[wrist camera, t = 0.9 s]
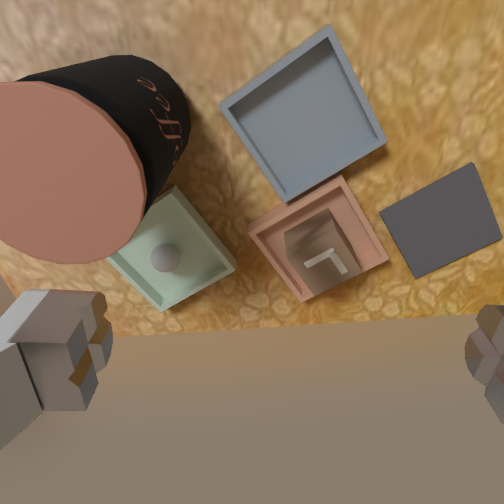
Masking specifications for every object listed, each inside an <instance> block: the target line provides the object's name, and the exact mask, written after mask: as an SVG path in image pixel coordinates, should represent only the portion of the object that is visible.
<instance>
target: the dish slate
mask: <svg viewBox="0 0 504 504" xmlns="http://www.w3.org/2000/svg"><path fill="white" fill-rule="evenodd" d="M218 107H219V108H220V110H221V111H222V113H223V114H224V116H225V117H226V119H227V120H228V122H229V123H230V125H231V126H232V127H233V129H234V130H235V132H236V133H237V135H238V136H239V138H240V139H241V141H242V142H243V144H244V145H245V147H246V148H247V150H248V151H249V153H250V154H251V155H252V157H253V158H254V160H255V161H256V163H257V164H258V166H259V167H260V169H261V170H262V172H263V173H264V175H265V176H266V178H267V179H268V180H269V182H270V183H271V185H272V186H273V188H274V189H275V191H276V192H277V194H278V195H279V197H280V198H281V200H282V201H283V203H286V202H287V201H289V200H291V199H293V198H294V197H296V196H298V195H299V194H301V193H303V192H304V191H306V190H308V189H309V188H311V187H313V186H314V185H316V184H318V183H319V182H321V181H323V180H325V179H326V178H328V177H330V176H331V175H333V174H335V173H336V172H338V171H340V170H341V169H343V168H345V167H346V166H348V165H350V164H351V163H353V162H355V161H357V160H358V159H360V158H362V157H363V156H365V155H367V154H368V153H370V152H372V151H373V150H375V149H377V148H378V147H380V146H382V145H383V144H385V143H387V142H388V141H387V139H386V137H385V135H384V133H383V130H382V128H381V126H380V124H379V122H378V120H377V118H376V116H375V114H374V112H373V110H372V108H371V106H370V104H369V102H368V100H367V98H366V96H365V94H364V91H363V89H362V87H361V85H360V83H359V81H358V79H357V77H356V75H355V73H354V71H353V69H352V67H351V65H350V63H349V61H348V59H347V57H346V54H345V52H344V50H343V48H342V46H341V44H340V42H339V40H338V38H337V36H336V34H335V32H334V30H333V28H332V26H331V24H326V25H325V26H324V27H322V28H321V29H320V30H318V31H317V32H315V33H314V34H313V35H311V36H310V37H309V38H307V39H306V40H304V41H303V42H302V43H300V44H299V45H298V46H296V47H295V48H293V49H292V50H291V51H289V52H288V53H287V54H285V55H284V56H283V57H281V58H280V59H278V60H277V61H276V62H274V63H273V64H272V65H270V66H269V67H267V68H266V69H265V70H263V71H262V72H261V73H259V74H258V75H257V76H255V77H254V78H252V79H251V80H250V81H248V82H247V83H246V84H244V85H243V86H241V87H240V88H239V89H237V90H236V91H235V92H233V93H232V94H231V95H229V96H228V97H226V98H225V99H224V100H222V101H221V102H220V104H219V106H218Z"/></svg>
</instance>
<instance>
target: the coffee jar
mask: <svg viewBox="0 0 504 504" xmlns="http://www.w3.org/2000/svg"><path fill="white" fill-rule="evenodd" d="M190 129H191V124H190V114H189V107H188V105H187V103H186V100H185V98H184V95H183V93H182V90H181V89H180V88H179V86H178V85H177V84H176V83H175V81H174V80H173V79H172V78H171V76H170V75H169V74H168V73H167V72H165V71H164V70H163V69H161V68H160V67H158V66H157V65H156V64H154V63H153V62H151V61H149V60H146V59H142V58H139V57H136V56H133V55H113V56H108V57H104V58H100V59H96V60H91V61H87V62H83V63H79V64H75V65H70V66H66V67H62V68H58V69H54V70H49V71H45V72H41V73H37V74H33V75H28V76H26V77H24V78H21V79H19V80H17V81H14V82H1V83H0V239H1V240H2V241H3V242H4V243H6V244H7V245H9V246H11V247H13V248H15V249H17V250H19V251H21V252H23V253H25V254H27V255H29V256H31V257H34V258H38V259H42V260H46V261H50V262H54V263H58V264H87V263H90V262H93V261H97V260H100V259H103V258H107V257H110V256H111V255H112V254H114V253H115V252H117V251H118V250H119V249H121V248H122V247H123V246H125V245H126V244H127V243H129V241H130V240H131V238H132V236H133V235H134V233H135V231H136V230H137V228H138V227H139V225H140V223H141V221H142V220H143V218H144V216H145V215H146V213H147V212H148V210H149V208H150V207H151V205H152V203H153V202H154V200H155V198H156V197H157V195H158V193H159V191H160V190H161V188H162V186H163V185H164V183H165V181H166V180H167V178H168V176H169V174H170V173H171V171H172V169H173V168H174V166H175V164H176V162H177V161H178V159H179V157H180V156H181V154H182V152H183V151H184V149H185V147H186V145H187V143H188V138H189V133H190Z"/></svg>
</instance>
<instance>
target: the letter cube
mask: <svg viewBox="0 0 504 504" xmlns="http://www.w3.org/2000/svg"><path fill="white" fill-rule="evenodd" d="M284 238H285V247H286V255H287V260H288V261H289V262H290V264H291V265H292V267H293V268H294V269H295V271H296V272H297V273H298V275H299V276H300V277H301V279H302V280H303V282H304V283H305V284H306V286H307V287H308V288H309V290H310V291H311V292H312V294H313V295H314V296H316V295H318V294H320V293H322V292H324V291H326V290H328V289H330V288H332V287H334V286H336V285H338V284H340V283H342V282H344V281H346V280H348V279H350V278H352V277H354V276H356V275H358V274H360V273H362V270H361V267H360V265H359V262H358V260H357V257H356V255H355V252H354V250H353V248H352V245H351V243H350V242H349V240H348V239H347V237H346V235H345V234H344V232H343V230H342V229H341V227H340V226H339V224H338V222H337V221H336V219H335V218H334V216H333V214H332V213H331V211H330V209H329V208H326V209H324V210H323V211H321V212H319V213H317V214H316V215H314V216H312V217H310V218H308V219H307V220H305V221H303V222H301V223H300V224H298V225H296V226H294V227H293V228H291V229H289V230H287V231H286V232H284Z"/></svg>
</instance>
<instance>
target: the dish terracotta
mask: <svg viewBox="0 0 504 504" xmlns="http://www.w3.org/2000/svg"><path fill="white" fill-rule="evenodd" d="M326 208H329V209H330V211H331V213H332V214H333V216H334V218H335V219H336V221H337V222H338V224H339V226H340V227H341V229H342V230H343V232H344V234H345V235H346V237H347V239H348V240H349V242H350V243H351V245H352V248H353V250H354V252H355V255H356V257H357V260H358V262H359V265H360V267H361V270H362V273H363V272H365V271H367V270H369V269H371V268H373V267H375V266H377V265H379V264H381V263H383V262H385V261H387V260H389V259H390V258H389V257H388V255H387V253H386V251H385V249H384V247H383V246H382V244H381V242H380V240H379V239H378V237H377V235H376V233H375V232H374V230H373V228H372V226H371V225H370V223H369V221H368V219H367V218H366V216H365V214H364V212H363V211H362V209H361V207H360V206H359V204H358V202H357V200H356V199H355V197H354V195H353V193H352V192H351V190H350V188H349V186H348V185H347V183H346V181H345V179H344V178H343V176H342V174H341V172H340V171H338V172H336V173H335V174H333V175H331V176H330V177H328V178H326V179H325V180H323V181H321V182H319V183H318V184H316V185H314V186H313V187H311V188H309V189H308V190H306V191H304V192H303V193H301V194H299V195H298V196H296V197H294V198H293V199H291V200H289V201H287V202H286V203H282V204H281V205H279V206H277V207H276V208H274V209H272V210H271V211H269V212H267V213H266V214H264V215H262V216H261V217H259V218H257V219H255V220H254V221H252V222H250V223H249V224H248V234H249V236H250V237H251V238H252V240H253V241H254V242H255V243H256V245H257V246H258V247H259V249H260V250H261V251H262V253H263V254H264V255H265V257H266V258H267V259H268V260H269V262H270V263H271V264H272V266H273V267H274V268H275V270H276V271H277V272H278V274H279V275H280V276H281V277H282V279H283V280H284V281H285V283H286V284H287V285H288V287H289V288H290V289H291V291H292V292H293V293H294V295H295V296H296V297H297V298H298V300H299V301H300V302H301V303H302V302H304V301H306V300H308V299H310V298H312V297H314V295H313V294H312V292H311V291H310V290H309V288H308V287H307V286H306V284H305V283H304V282H303V280H302V279H301V277H300V276H299V275H298V273H297V272H296V271H295V269H294V268H293V267H292V265H291V264H290V262H289V261H288V260H287V255H286V247H285V238H284V232H286V231H287V230H289V229H291V228H293V227H294V226H296V225H298V224H300V223H301V222H303V221H305V220H307V219H308V218H310V217H312V216H314V215H316V214H317V213H319V212H321V211H323V210H324V209H326ZM360 274H361V273H360Z"/></svg>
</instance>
